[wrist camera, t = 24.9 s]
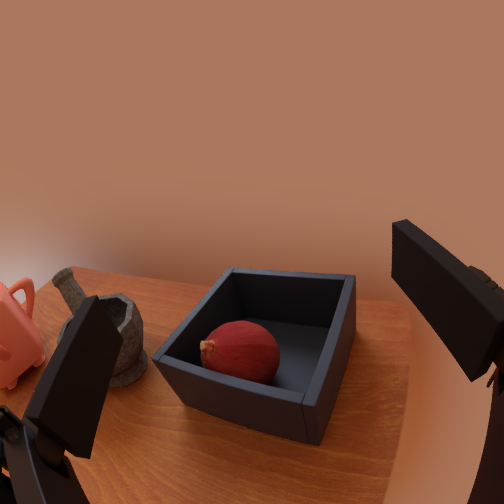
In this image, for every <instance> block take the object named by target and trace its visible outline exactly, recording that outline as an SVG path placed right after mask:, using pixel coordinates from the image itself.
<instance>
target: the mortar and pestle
mask: <svg viewBox="0 0 504 504" xmlns="http://www.w3.org/2000/svg"><path fill="white" fill-rule="evenodd" d="M52 282H53V284H54V286H55V287H57V288H58V289H59V290H60V292H61V294H62V296H63V298H64V300H65V302H66V303H67V305H68V307H69V309H70V310H71V312H72V314H73V315H72V316H71V317H70V318H69V319H68V320H67V321H66V322H65V323H64V324H63V326H62V329H61V331H60V334H59V336H58V339H57V344H59V342H60V340H61V338H62V336H63V335H64V333H65V331H66V329H67V327H68V326H69V324H70V322H71V320H72V319H73V317H74V315H75V313H76V312H77V310H78V308H79V307H80V305H81V303H82V302H83V300H84V298H87V296H86V294H85V293H84V291H83V290H82V289H81V287H80V286H79V284H78V283H77V282H76V280H75V279H74V277H73V271H72V270H71V268H65V269H63V270H61V271H59V272H58V273H57V274H56V275H55V276H54V277H53V279H52ZM99 299H100V301H101V303H102V305H103V306H104V308H105V310H106V311H107V313H108V315H109V316H110V318H111V320H112V321H113V323H114V324H115V326H116V328H117V329H118V331H119V332H120V334H121V335H122V337H123V338H124V341H123V344H122V347H121V350H120V353H119V356H118V359H117V362H116V365H115V368H114V371H113V374H112V377H111V381H110V384H109V386H110V387H125V386H127V385H129V384H131V383H133V382H134V381H136V380H138V379H139V377H140V376H141V375H142V373H143V372H144V370H145V369H146V368H147V354H146V353H145V351H144V350H143V321H142V318H141V315H140V312H139V310H138V308H137V306H136V305H135V303H134V301H133V300H131V299H130V298H128V297H126V296H125V295H123V294H122V293H119V294H112V295H105V296H100V297H99Z"/></svg>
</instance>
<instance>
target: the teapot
mask: <svg viewBox="0 0 504 504" xmlns="http://www.w3.org/2000/svg"><path fill="white" fill-rule="evenodd" d="M19 289H24V291H25V294H26V301H27V311H26V310H25V308H24V307H23V306H22V305H21V303H20V302H19V301H18V300H17V299H16V298H15V296H14V295H13V293H15V292H16V291H17V290H19ZM34 297H35V290H34V284H33V281H32V280H31V279H30V278H23V279H21V280H19V281H17V282H16V283H15V284H14V285H12V286H11V287H10V288H9V289H8V288H7V287H6V286H5V285H4V284H3V283H1V282H0V388H1V389H3V388H5V387H6V386H7V387H8V389H9V390H11V389H13V388H14V387H15V386H16V385H17V382H18V378H17V377H19V376H20V375H21V374H22V373H23V372H24V371H26V370H27V369H28V368H29V367H30V366H31V365H33V366H34V367H38V366H40V365H41V364H42V363H43V362H44V360H45V355H43V346H42V341H41V338H40V334H39V332H38V329H37V326H36V324H35V322H34V321H33V319H32V313H33V306H34Z"/></svg>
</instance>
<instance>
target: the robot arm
mask: <svg viewBox="0 0 504 504" xmlns="http://www.w3.org/2000/svg"><path fill="white" fill-rule="evenodd" d="M391 273H392V274H391V277H392V278H393V279H394V281H396V283H397V284H398V285H399V286H400V288H401V289H402V290H403V291H404V293H405V294H406V295H407V296H408V297H409V299H410V300H411V301H412V302H413V303H414V305H415V306H416V307H417V309H418V310H419V311H420V312H421V313H422V315H423V316H424V317H425V319H426V320H427V321H428V322H429V324H430V325H431V326H432V328H433V329H434V330H435V332H436V333H437V334H438V336H439V337H440V338H441V340H442V341H443V343H444V344H445V345H446V347H447V348H448V350H449V351H450V352H451V354H452V355H453V356H454V358H455V359H456V361H457V362H458V364H459V365H460V367H461V368H462V370H463V371H464V372H465V374H466V376H467V377H468V379H469V380H470V381H471V382H473V381H474V380H476V379H478V378H479V377H481V376H482V375H484V374H485V373H486V372H487V371H488V369H489V367H490V366H491V364H492V362H494V363H495V365H496V366H497V368H496V369H495V371H494V373H493V374H492V376H491V378H490V379H489V381H488V383H487V387H489V386H490V385H491V383H492V382H493V380H494V383H493V394H492V404H491V410H490V417H489V424H488V429H487V435H486V440H485V445H484V449H483V453H482V457H481V461H480V465H479V469H478V472H477V476H476V479H475V482H474V485H473V488H472V491H471V494H470V497H469V500H468V503H467V504H504V290H503V289H502V288H501V287H499V286H498V284H496V282H494V281H492V280H491V278H490V277H489V276H488V275H487V274H485V273H484V272H483V271H481V270H479V269H477V268H475V267H473V266H469V267H467V266H466V265H464V264H463V263H462V262H461V261H460V260H459V259H457V258H456V257H455V256H453V254H451V253H450V252H449V251H448V250H446V249H445V248H444V247H443V246H441V245H440V244H439V243H438V242H436V241H435V240H434V239H432V238H431V237H430V236H429V235H427V234H426V233H425V232H423V231H422V230H421V229H419V228H418V227H417V226H415V225H414V224H412V223H411V222H410V221H408V220H407V219H405V220H402V221H398V222H394V223H392V272H391ZM123 341H124V338H123V337H122V335H121V334H120V332H119V331H118V329H117V328H116V326H115V324H114V323H113V321H112V320H111V318H110V316H109V315H108V313H107V311H106V310H105V308H104V306H103V305H102V303H101V301H100V299H99V298H98V296H97V295H96V296H91V297H87V298H84V300H83V302H82V303H81V305H80V307H79V308H78V310H77V312H76V313H75V315H74V317H73V319H72V320H71V322H70V324H69V326H68V327H67V329H66V331H65V333H64V335H63V336H62V338H61V340H60V342H59V344H58V346H57V348H56V350H55V352H54V353H53V355H52V357H51V359H50V361H49V363H48V365H47V367H46V369H45V370H44V371H43V372H42V374H41V377H40V379H39V381H38V384H37V385H36V387H35V389H34V390H35V392H33V394H32V396H31V399H30V401H29V403H28V406H27V408H26V410H25V413H24V415H23V418H22V420H20V419H19V418H18V417H17V416H16V415H14V414H13V413H12V412H11V411H10V410H9V409H8V408H7V407H6V406H5V405H0V504H90V503H89V501H88V499H87V497H86V495H85V493H84V491H83V489H82V487H81V485H80V483H79V481H78V479H77V476H76V474H75V472H74V470H73V467H72V465H71V463H70V460H69V459H68V457H67V456H65V455H64V452H65V449H66V450H67V451H68V452H70V453H71V454H73V455H74V456H75V457H81V458H87V459H90V456H91V452H92V447H93V443H94V439H95V435H96V431H97V427H98V423H99V419H100V415H101V411H102V408H103V404H104V401H105V397H106V394H107V390H108V387H109V384H110V381H111V377H112V374H113V371H114V368H115V365H116V362H117V359H118V356H119V353H120V350H121V347H122V344H123ZM2 467H3V468H4V469H6V470H7V471H9V474H10V478H9V477H7V476H6V475H4V474H3V473H2Z"/></svg>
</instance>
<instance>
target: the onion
mask: <svg viewBox="0 0 504 504" xmlns="http://www.w3.org/2000/svg"><path fill="white" fill-rule="evenodd" d="M200 349H201V360H202V365H203V368H205V369H209V370H212V371H215V372H219V373H222V374H226V375H229V376H233V377H236V378H240V379H244V380H248V381H252V382H256V383H260V384H264V385H267V384H268V383H269V382H270V381H271V380H272V378H273V377H274V376H275V375H276V373H277V370H278V367H279V364H280V351H279V348H278V345H277V343H276V341H275V339H274V337H273V336H272V335H271V334H270V333H269V332H268V331H267V330H266V329H265V328H263V327H262V326H260V325H258V324H255V323H252V322H248V321H244V320H242V321H235V322H228V323H225V324H223V325H221V326H220V327H218V328H217V329H215V330H214V331H212V332H211V333H210V335H209V336H208V337H207V338H206V339H205V341H201V343H200Z"/></svg>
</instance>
